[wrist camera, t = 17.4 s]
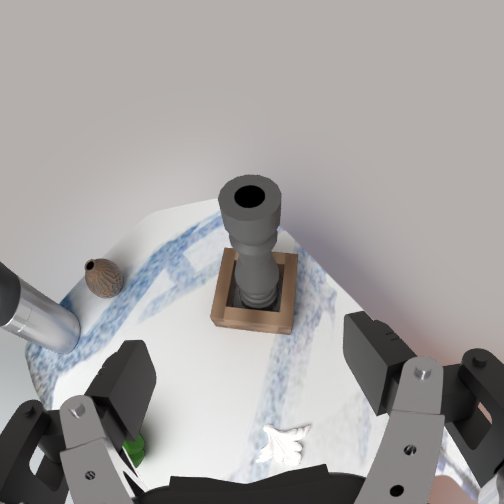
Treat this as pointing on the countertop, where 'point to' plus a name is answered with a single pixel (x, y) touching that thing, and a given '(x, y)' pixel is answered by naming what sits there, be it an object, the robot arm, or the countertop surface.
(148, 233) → the countertop surface
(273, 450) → the acanthus leaf ornament
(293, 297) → the socket block
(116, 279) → the vase
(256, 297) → the candle holder
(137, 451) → the bell pepper
